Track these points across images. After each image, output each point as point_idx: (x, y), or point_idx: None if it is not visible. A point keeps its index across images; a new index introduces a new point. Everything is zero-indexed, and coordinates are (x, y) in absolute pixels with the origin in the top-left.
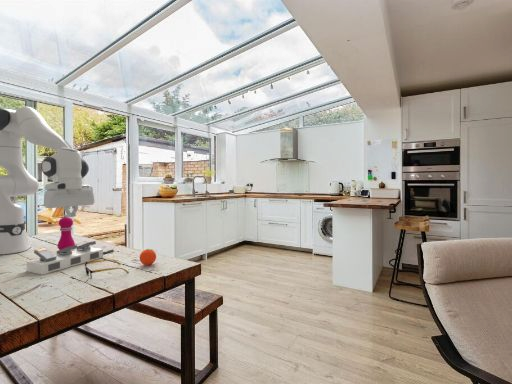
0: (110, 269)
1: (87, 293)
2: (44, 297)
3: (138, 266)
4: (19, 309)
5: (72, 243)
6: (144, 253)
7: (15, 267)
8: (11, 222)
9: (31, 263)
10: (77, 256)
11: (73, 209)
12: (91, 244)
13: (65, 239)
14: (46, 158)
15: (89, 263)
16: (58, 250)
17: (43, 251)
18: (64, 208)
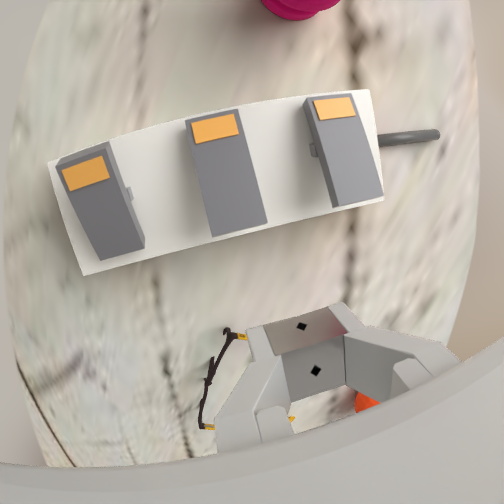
0: None
1: (161, 461)
2: (88, 430)
3: (346, 386)
4: (54, 441)
5: (329, 2)
6: None
7: (56, 61)
8: None
9: (59, 200)
10: (246, 232)
11: (394, 358)
12: (351, 203)
13: None
14: None
15: (243, 335)
16: (192, 128)
17: (93, 192)
18: (223, 448)
